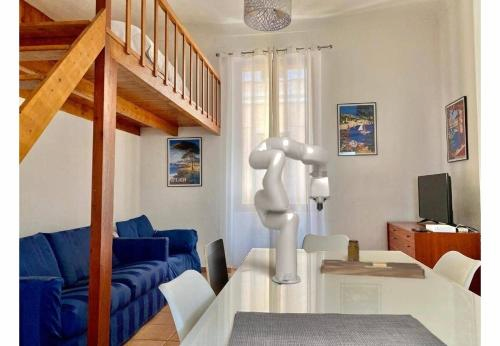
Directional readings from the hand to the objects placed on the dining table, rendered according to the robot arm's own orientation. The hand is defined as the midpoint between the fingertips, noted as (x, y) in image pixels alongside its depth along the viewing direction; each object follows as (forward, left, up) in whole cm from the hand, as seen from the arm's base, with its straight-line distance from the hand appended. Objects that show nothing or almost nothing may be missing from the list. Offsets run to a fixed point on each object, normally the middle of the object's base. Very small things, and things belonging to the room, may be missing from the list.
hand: (319, 210), depth 192 cm
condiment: (+16, -18, -29) cm, 38 cm away
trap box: (-6, -24, -29) cm, 38 cm away
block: (-6, -28, -29) cm, 41 cm away
